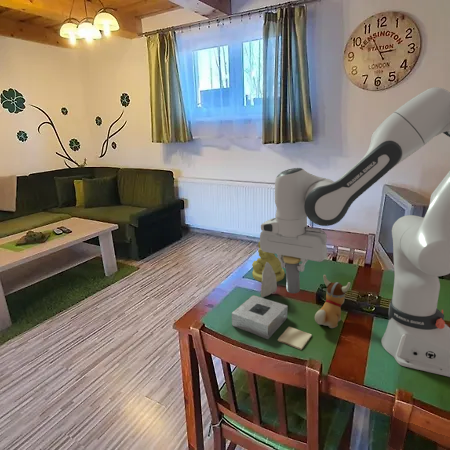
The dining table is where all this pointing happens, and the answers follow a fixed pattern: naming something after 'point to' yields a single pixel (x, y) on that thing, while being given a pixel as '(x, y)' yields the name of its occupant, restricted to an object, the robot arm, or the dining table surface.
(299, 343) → the coaster
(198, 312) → the dining table surface
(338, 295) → the toy
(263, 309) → the housing
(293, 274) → the plug
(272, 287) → the stone tool
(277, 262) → the figurine
